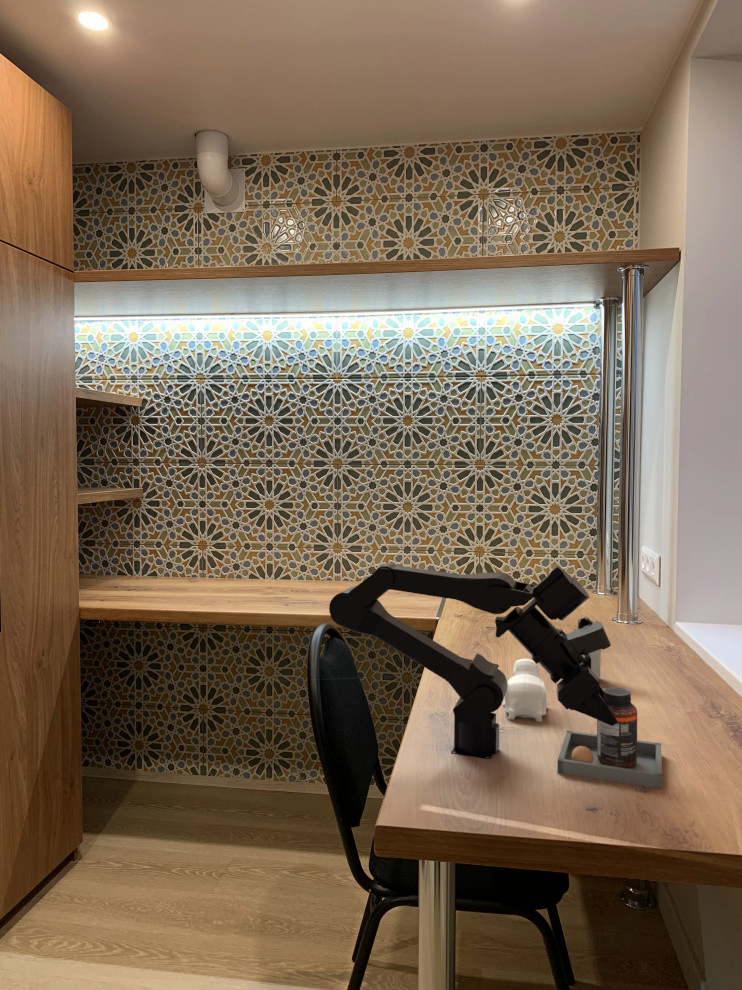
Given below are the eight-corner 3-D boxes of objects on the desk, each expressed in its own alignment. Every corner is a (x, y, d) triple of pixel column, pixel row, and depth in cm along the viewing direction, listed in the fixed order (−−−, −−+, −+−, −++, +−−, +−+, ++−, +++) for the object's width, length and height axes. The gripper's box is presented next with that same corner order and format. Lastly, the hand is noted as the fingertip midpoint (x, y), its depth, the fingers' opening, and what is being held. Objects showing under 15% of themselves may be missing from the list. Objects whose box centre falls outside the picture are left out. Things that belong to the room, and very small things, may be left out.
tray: (557, 776, 110) (557, 760, 110) (566, 745, 121) (567, 730, 121) (661, 792, 104) (661, 775, 104) (660, 758, 116) (661, 743, 116)
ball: (570, 769, 111) (570, 749, 110) (572, 761, 114) (572, 741, 113) (592, 773, 110) (592, 752, 109) (593, 764, 112) (594, 744, 112)
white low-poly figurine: (549, 739, 132) (547, 685, 145) (550, 702, 128) (548, 650, 142) (501, 735, 134) (504, 682, 147) (501, 699, 130) (504, 648, 143)
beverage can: (584, 674, 161) (585, 620, 160) (604, 679, 157) (605, 624, 157) (572, 678, 157) (573, 624, 157) (593, 683, 154) (594, 627, 153)
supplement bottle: (613, 751, 118) (614, 682, 117) (645, 764, 113) (646, 692, 112) (588, 759, 114) (589, 689, 114) (620, 773, 109) (621, 699, 109)
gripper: (584, 618, 104) (663, 700, 103) (574, 593, 122) (640, 662, 121) (527, 668, 106) (603, 749, 105) (525, 636, 124) (590, 705, 123)
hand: (611, 712), depth 113 cm, fingers open, 9 cm apart
